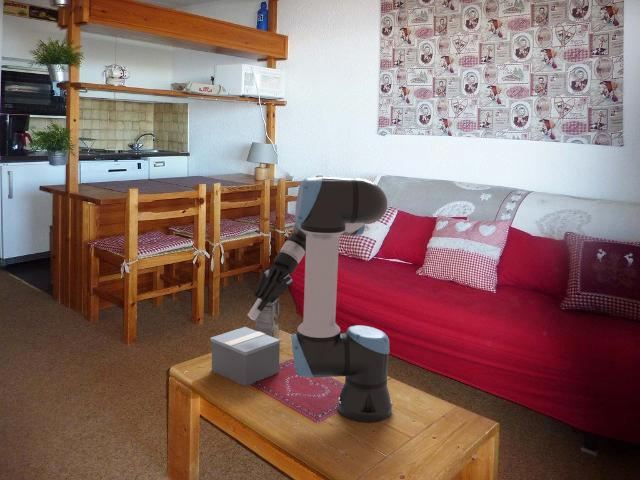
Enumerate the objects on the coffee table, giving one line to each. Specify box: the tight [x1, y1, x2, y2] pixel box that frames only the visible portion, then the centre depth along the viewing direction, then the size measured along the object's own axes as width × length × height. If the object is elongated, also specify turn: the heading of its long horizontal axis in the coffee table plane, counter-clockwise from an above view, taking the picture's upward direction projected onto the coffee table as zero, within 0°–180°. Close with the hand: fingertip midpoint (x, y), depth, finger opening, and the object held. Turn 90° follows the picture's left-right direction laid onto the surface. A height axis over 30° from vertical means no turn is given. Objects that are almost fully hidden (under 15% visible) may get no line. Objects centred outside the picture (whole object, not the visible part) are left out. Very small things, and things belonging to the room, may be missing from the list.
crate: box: [211, 341, 281, 387], centre depth 193 cm, size 16×14×10 cm
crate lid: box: [210, 326, 281, 356], centre depth 191 cm, size 16×14×1 cm
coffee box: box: [255, 298, 281, 340], centre depth 215 cm, size 9×6×16 cm
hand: (251, 317), depth 192 cm, fingers closed
